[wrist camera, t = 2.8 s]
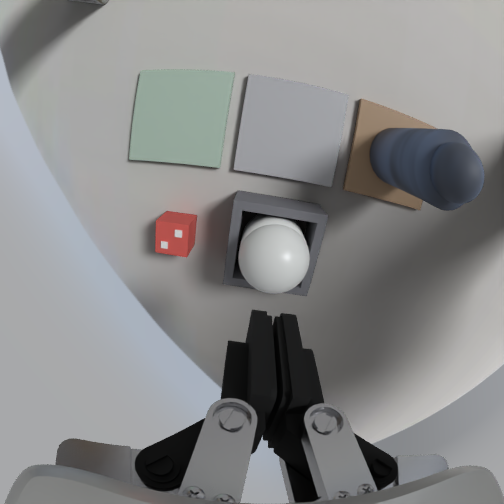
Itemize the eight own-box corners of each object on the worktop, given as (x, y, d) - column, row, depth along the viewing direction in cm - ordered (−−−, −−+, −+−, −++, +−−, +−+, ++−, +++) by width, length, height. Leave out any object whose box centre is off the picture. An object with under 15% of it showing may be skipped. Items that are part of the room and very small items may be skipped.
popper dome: (308, 216, 19) (324, 244, 14) (295, 271, 21) (304, 312, 16) (246, 206, 19) (241, 231, 14) (238, 262, 21) (231, 302, 16)
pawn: (423, 138, 17) (507, 152, 8) (411, 191, 18) (488, 231, 10) (375, 120, 16) (452, 116, 8) (364, 177, 18) (433, 211, 10)
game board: (435, 128, 16) (456, 130, 14) (390, 288, 22) (403, 306, 19) (142, 71, 16) (125, 63, 13) (129, 248, 22) (113, 264, 19)
